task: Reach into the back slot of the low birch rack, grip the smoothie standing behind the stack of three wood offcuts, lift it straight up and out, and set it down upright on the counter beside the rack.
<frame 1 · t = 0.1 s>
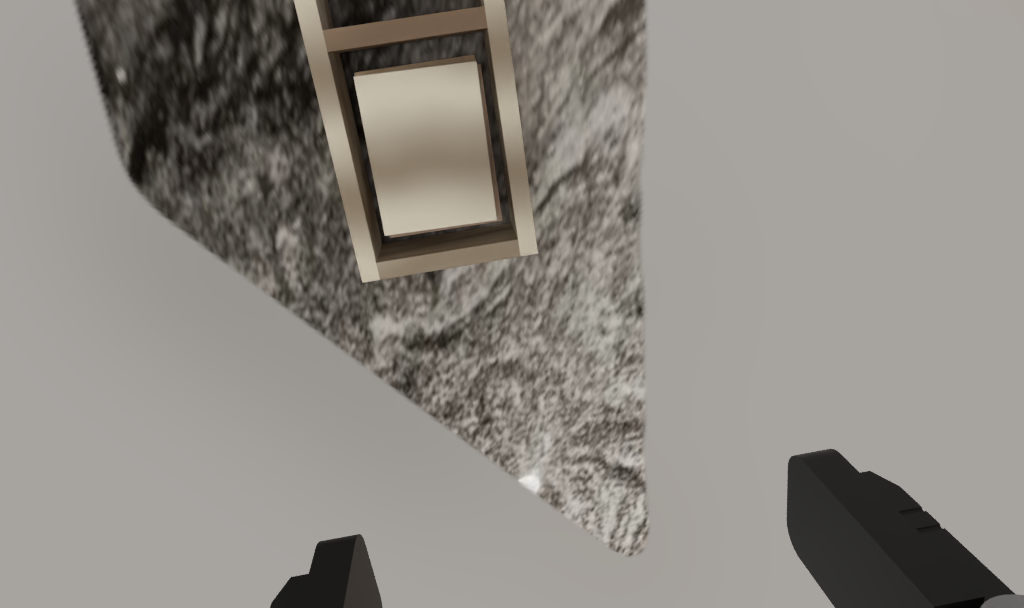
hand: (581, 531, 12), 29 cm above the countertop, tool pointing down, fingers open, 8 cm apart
offcut top: (429, 146, 34), point 3 cm above the countertop, touching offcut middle
offcut bottom: (430, 141, 38), on the countertop, touching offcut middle
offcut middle: (434, 149, 36), point 1 cm above the countertop, touching offcut bottom, offcut top
offcut rack: (415, 61, 36), on the countertop
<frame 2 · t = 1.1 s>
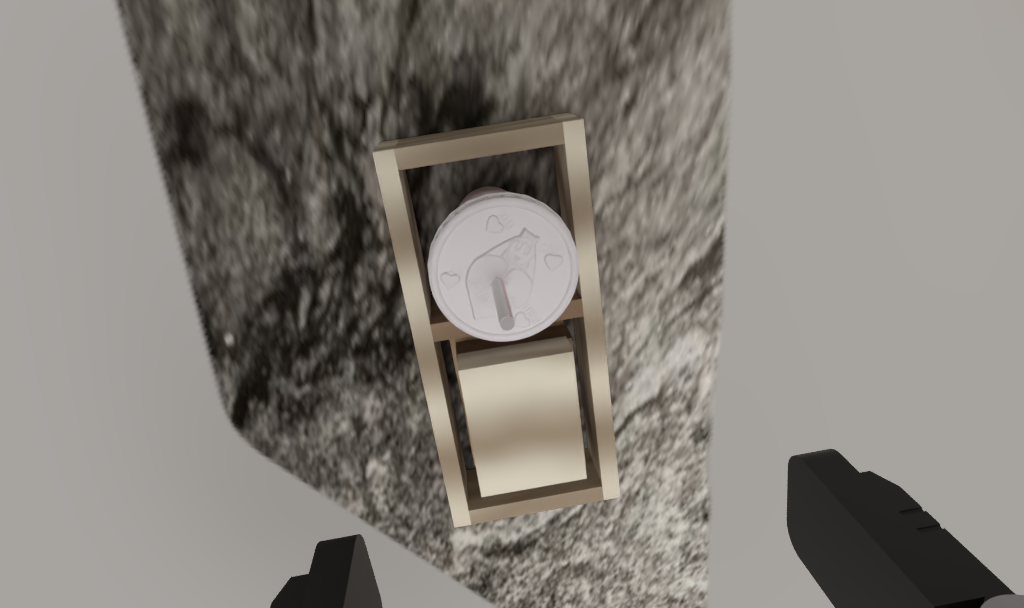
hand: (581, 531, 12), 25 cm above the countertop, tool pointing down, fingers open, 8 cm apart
offcut top: (521, 408, 36), point 3 cm above the countertop
offcut bottom: (513, 379, 40), on the countertop, touching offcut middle
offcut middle: (520, 396, 38), point 1 cm above the countertop, touching offcut bottom
smoothie: (489, 218, 36), on the countertop
offcut rack: (505, 318, 38), on the countertop
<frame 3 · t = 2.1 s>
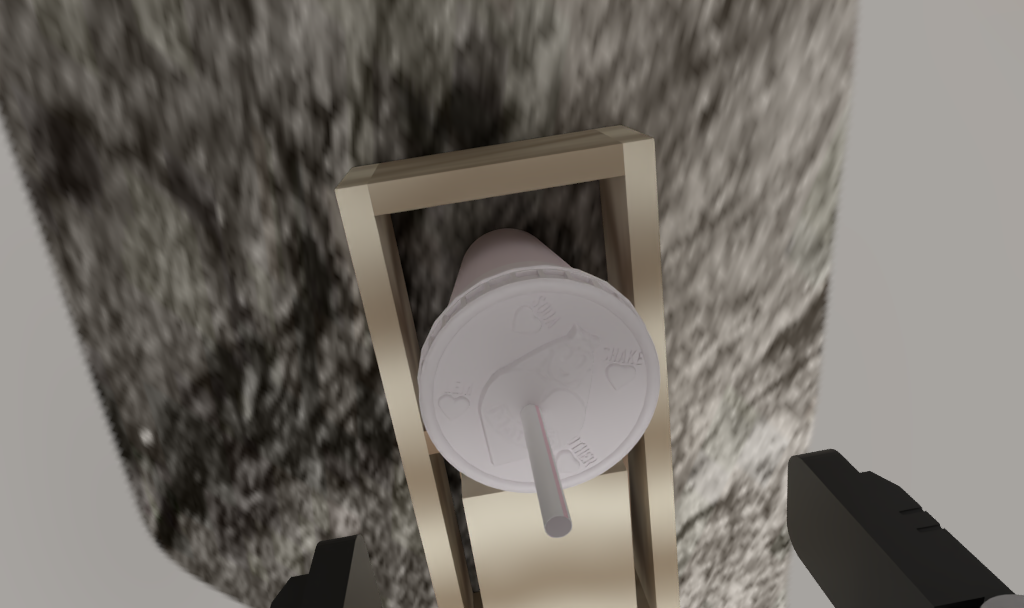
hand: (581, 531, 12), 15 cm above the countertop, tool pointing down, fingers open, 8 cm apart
offcut top: (548, 533, 26), point 3 cm above the countertop, touching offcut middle
smoothie: (506, 271, 25), on the countertop
offcut rack: (526, 403, 28), on the countertop
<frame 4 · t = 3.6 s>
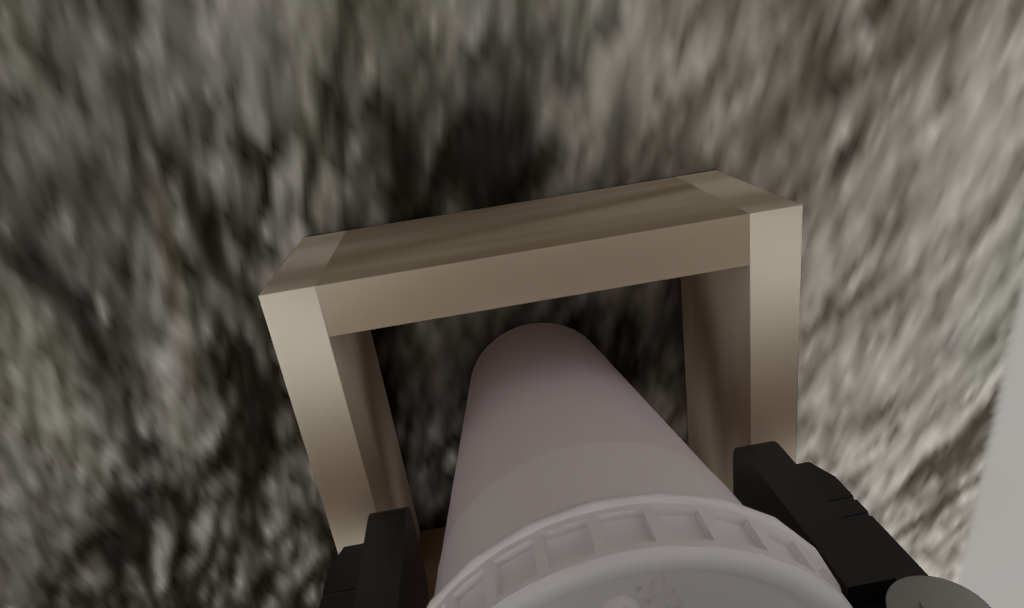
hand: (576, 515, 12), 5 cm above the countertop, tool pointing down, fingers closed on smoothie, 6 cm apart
smoothie: (537, 382, 17), on the countertop, touching gripper
offcut rack: (564, 559, 19), on the countertop
when the fingers open (6 cm above the countertop, at t = 9.8 s): smoothie stays where it is, on the countertop.
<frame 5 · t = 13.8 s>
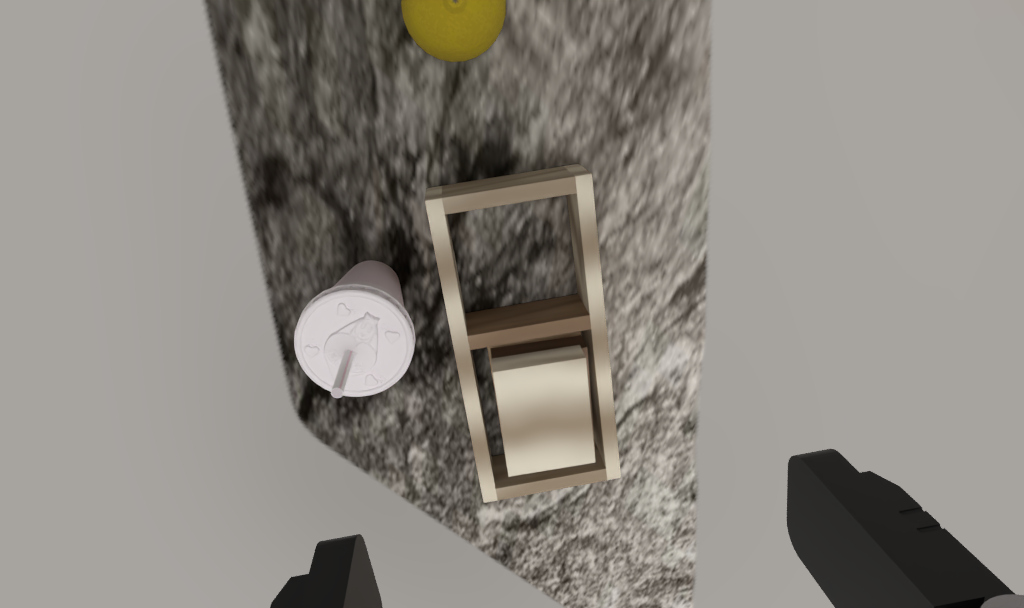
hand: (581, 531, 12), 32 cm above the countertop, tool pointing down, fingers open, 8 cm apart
lemon: (453, 12, 38), on the countertop
offcut top: (541, 403, 44), point 3 cm above the countertop
offcut bottom: (537, 381, 48), on the countertop, touching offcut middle
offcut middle: (541, 394, 46), point 1 cm above the countertop, touching offcut bottom
smoothie: (372, 285, 43), on the countertop
offcut rack: (525, 329, 45), on the countertop
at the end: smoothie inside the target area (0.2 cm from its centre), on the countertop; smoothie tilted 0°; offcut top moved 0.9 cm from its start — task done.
